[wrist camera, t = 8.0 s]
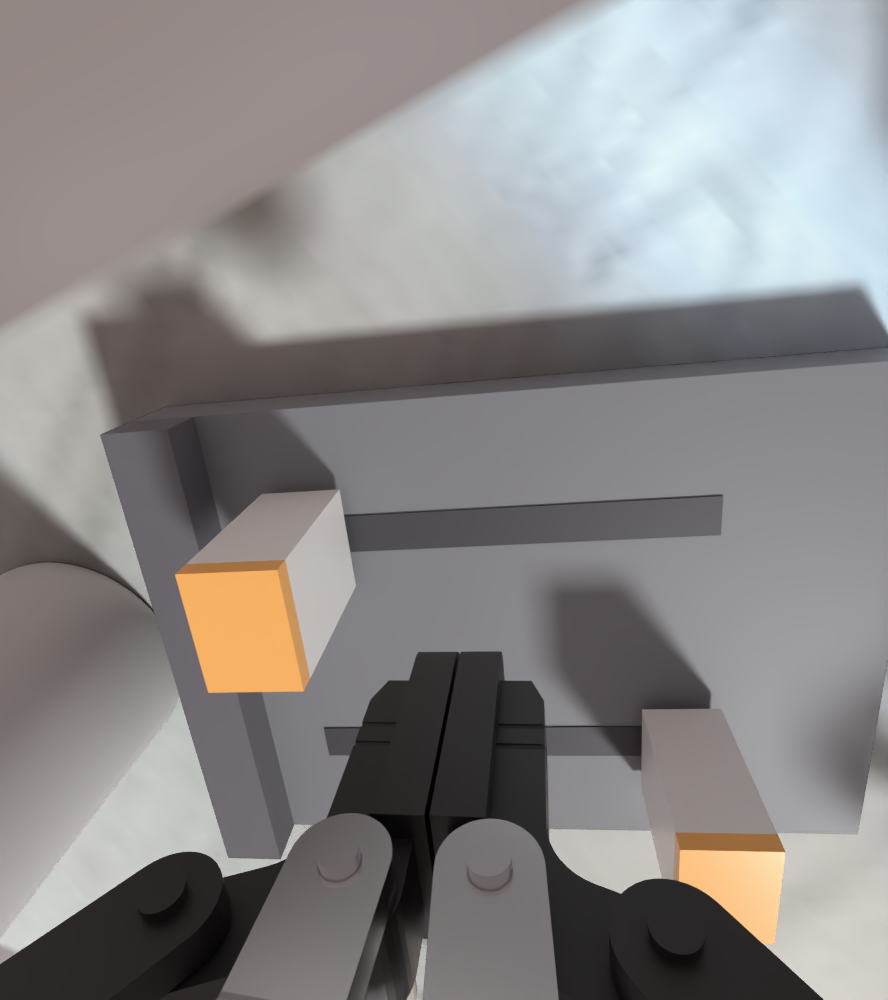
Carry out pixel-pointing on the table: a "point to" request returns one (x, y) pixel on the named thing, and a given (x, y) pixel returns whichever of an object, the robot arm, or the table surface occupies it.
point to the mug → (69, 711)
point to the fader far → (710, 815)
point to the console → (554, 571)
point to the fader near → (269, 592)
